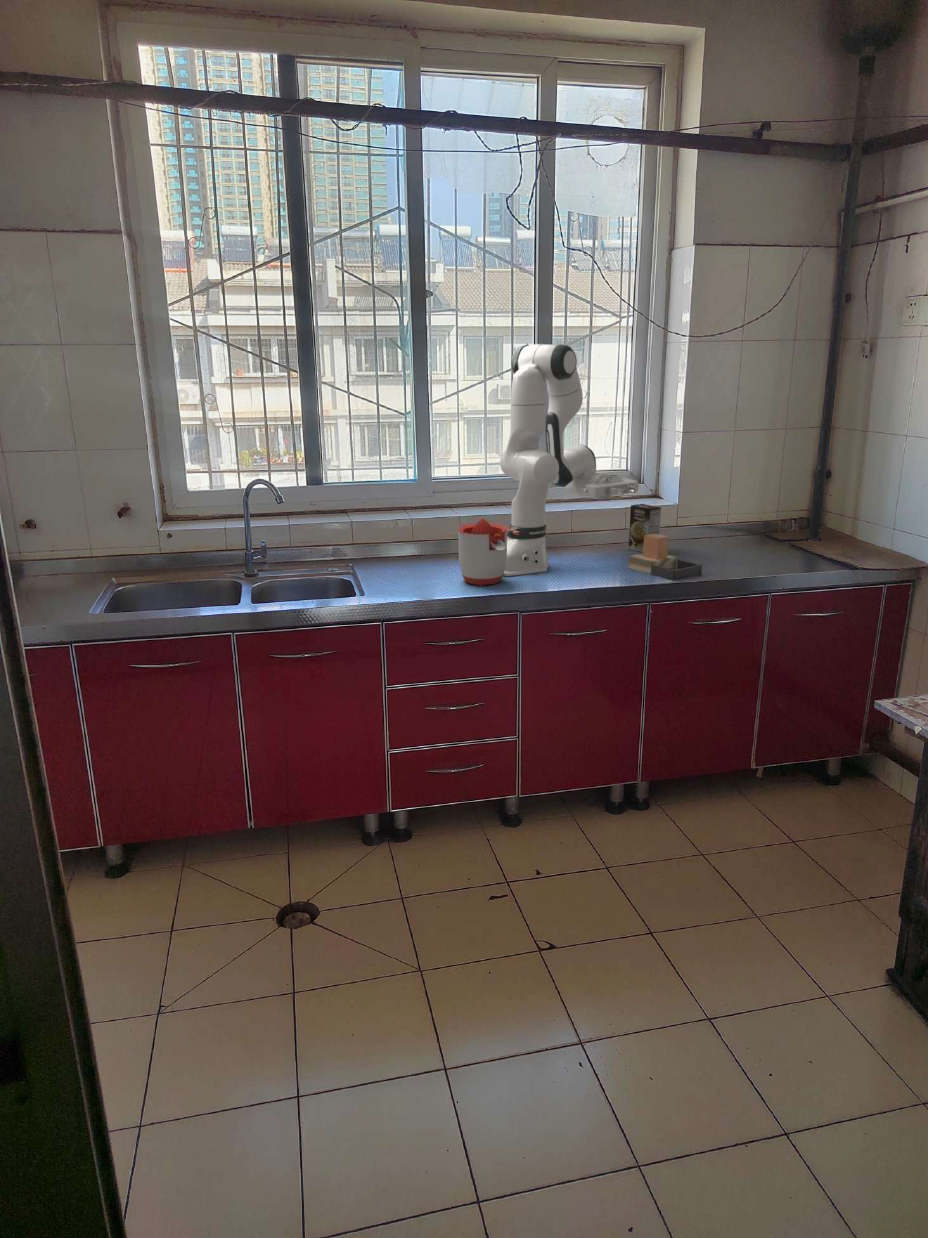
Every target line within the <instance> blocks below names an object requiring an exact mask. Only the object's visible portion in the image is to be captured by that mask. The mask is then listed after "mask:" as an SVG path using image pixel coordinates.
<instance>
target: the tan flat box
mask: <svg viewBox="0 0 928 1238" xmlns="http://www.w3.org/2000/svg"><path fill="white" fill-rule="evenodd" d="M677 563H678V556H676V555H673V554H667V558H663V559H658V560H656V559H652V558H648V557H644V556H643V552H641V553H637V554H632V555H628V564H627V569H631V570H634V569H635V570H634V571H638V572H641V571H642V573H646V574H648V575H651V565H655V566H658V567H662V568H666V569H670V568H675V567H677Z"/></svg>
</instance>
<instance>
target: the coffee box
mask: <svg viewBox="0 0 928 1238" xmlns="http://www.w3.org/2000/svg"><path fill="white" fill-rule="evenodd" d="M661 511H662V507H661V506H655V505H650V504H644V503H640V504H639V503H638V504H632V505H630V513H629V533H628V550H632V551H635V552H640V553H643V546H644V535H649V534H659V535H660V529H661V528H660V527H661V515H662V513H661Z"/></svg>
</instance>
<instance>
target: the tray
mask: <svg viewBox="0 0 928 1238" xmlns="http://www.w3.org/2000/svg"><path fill="white" fill-rule="evenodd" d="M702 566H703V565H702V564H700V563H696V562H691V561H687V560H684V559H680V558H677V564H676V567H675V568H670V569H666V568H662V567H658V566H655V565H651V574H652V575H651V574H650V575H651V576H654V575H655V576H654V577H658V576H659V577H660V578H662V579H665V578H666V579H665V580H670V581H673V580H674V581H678V580H682V579H681V578H683V579H686V577H687V578H691V577H695V575H696V576H699V574H700V575H702ZM690 576H691V577H690Z"/></svg>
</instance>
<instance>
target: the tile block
mask: <svg viewBox="0 0 928 1238" xmlns="http://www.w3.org/2000/svg"><path fill="white" fill-rule="evenodd" d="M669 540H670V539H669V536H668V535H664V534H660V533H659V534H649V535H644V546H643V552H642V553H643V556H644V557H648V558H652V559H656V560H658V559H663V558H667V554H668V553H669V551H668V550H669ZM668 555H669V554H668Z"/></svg>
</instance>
